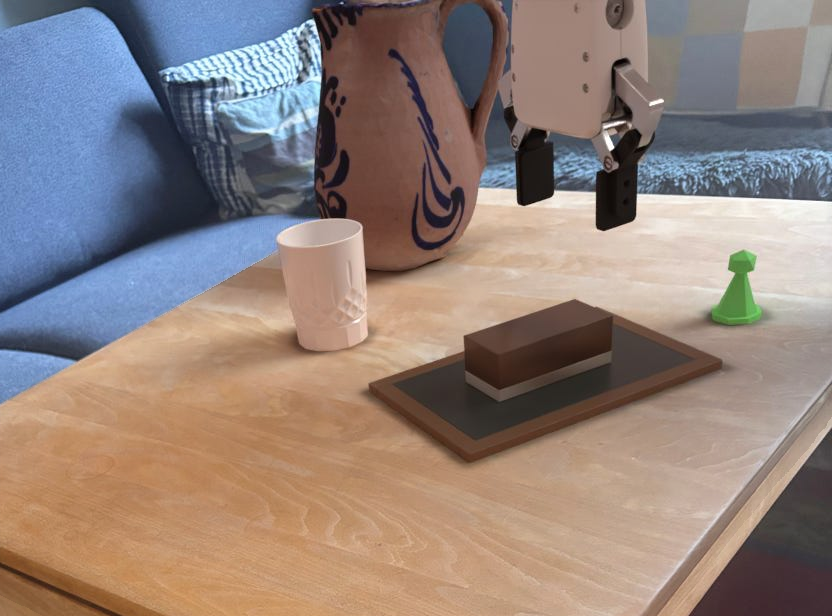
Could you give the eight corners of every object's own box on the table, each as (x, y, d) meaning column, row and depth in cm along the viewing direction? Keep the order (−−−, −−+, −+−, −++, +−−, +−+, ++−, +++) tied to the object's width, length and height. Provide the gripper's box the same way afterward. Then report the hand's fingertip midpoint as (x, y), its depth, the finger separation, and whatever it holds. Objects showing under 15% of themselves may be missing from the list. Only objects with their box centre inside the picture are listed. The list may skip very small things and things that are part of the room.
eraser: (573, 344, 83) (575, 298, 81) (611, 362, 80) (613, 314, 77) (465, 382, 80) (462, 335, 78) (499, 402, 77) (497, 354, 74)
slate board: (596, 316, 90) (596, 306, 89) (721, 371, 78) (723, 359, 78) (369, 393, 83) (367, 382, 83) (470, 466, 72) (469, 454, 71)
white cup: (327, 363, 89) (310, 252, 83) (277, 343, 94) (258, 238, 88) (391, 334, 93) (380, 226, 86) (339, 317, 98) (326, 213, 91)
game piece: (753, 330, 84) (763, 260, 80) (702, 325, 86) (710, 256, 82) (767, 312, 86) (778, 242, 82) (718, 307, 88) (726, 239, 85)
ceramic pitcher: (309, 253, 115) (273, 3, 99) (477, 217, 118) (467, -31, 102) (347, 299, 101) (312, 18, 86) (535, 257, 104) (535, -21, 88)
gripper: (715, -78, 57) (693, 221, 68) (541, -71, 70) (546, 181, 81) (612, -54, 55) (607, 251, 66) (452, -50, 68) (470, 205, 79)
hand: (573, 212), depth 73 cm, fingers open, 9 cm apart
